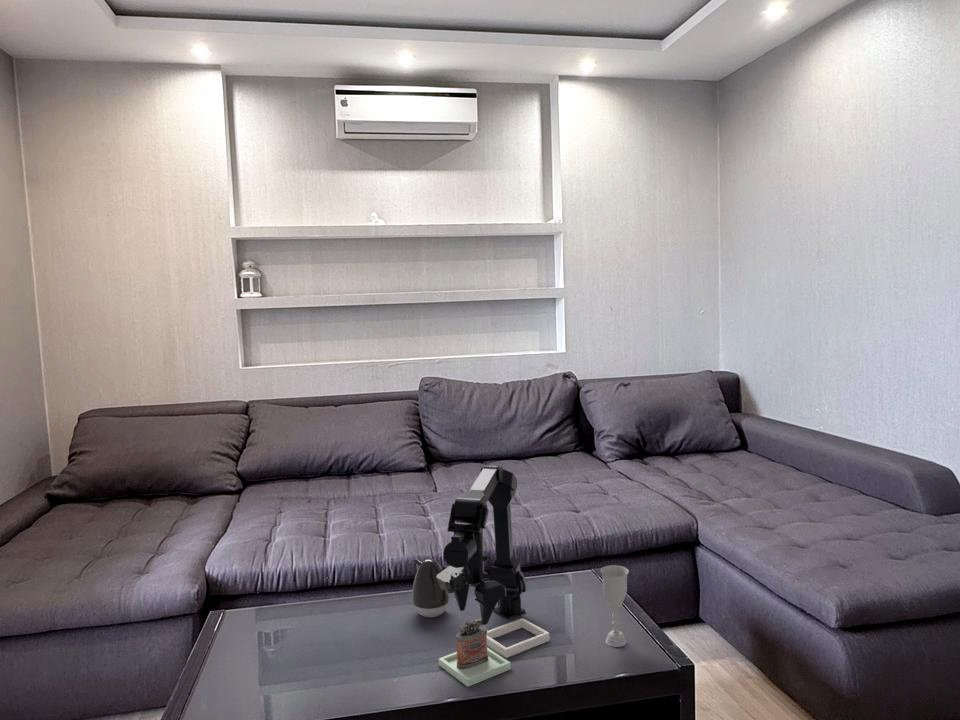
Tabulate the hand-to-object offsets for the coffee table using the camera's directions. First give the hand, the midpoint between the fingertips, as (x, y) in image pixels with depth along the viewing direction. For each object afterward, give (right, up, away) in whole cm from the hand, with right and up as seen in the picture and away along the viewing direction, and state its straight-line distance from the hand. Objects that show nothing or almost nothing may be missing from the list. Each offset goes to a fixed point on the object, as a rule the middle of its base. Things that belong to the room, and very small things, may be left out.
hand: (473, 617), depth 163 cm
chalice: (+35, -10, +10) cm, 38 cm away
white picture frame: (+10, -11, +13) cm, 19 cm away
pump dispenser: (-12, -10, +30) cm, 34 cm away
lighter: (0, -11, +2) cm, 12 cm away
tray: (0, -12, +1) cm, 12 cm away
